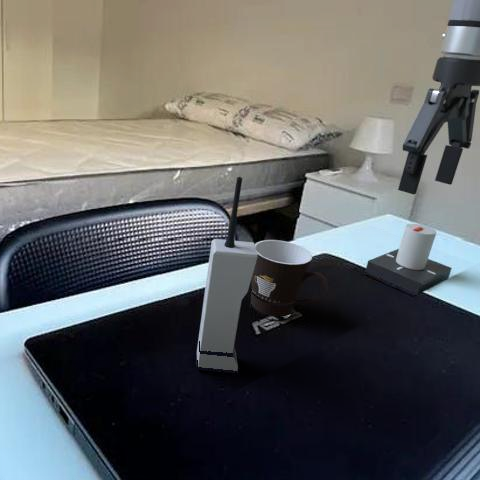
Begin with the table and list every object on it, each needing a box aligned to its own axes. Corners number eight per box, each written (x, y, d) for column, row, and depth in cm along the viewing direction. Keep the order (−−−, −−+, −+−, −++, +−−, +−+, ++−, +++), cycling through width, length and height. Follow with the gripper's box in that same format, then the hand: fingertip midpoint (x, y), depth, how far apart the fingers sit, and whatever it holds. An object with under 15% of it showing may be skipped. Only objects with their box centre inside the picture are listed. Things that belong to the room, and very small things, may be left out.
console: (447, 282, 93) (452, 267, 92) (416, 298, 86) (421, 282, 85) (396, 261, 100) (400, 247, 99) (364, 274, 93) (368, 259, 92)
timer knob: (403, 256, 95) (414, 220, 92) (429, 266, 92) (442, 229, 89) (390, 261, 92) (401, 224, 89) (416, 272, 89) (429, 234, 86)
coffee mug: (233, 299, 80) (242, 242, 76) (277, 292, 84) (288, 237, 80) (275, 339, 71) (288, 277, 67) (323, 330, 74) (338, 270, 70)
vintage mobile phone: (236, 375, 62) (270, 184, 53) (197, 371, 62) (223, 179, 53) (234, 357, 66) (265, 174, 56) (196, 354, 66) (221, 170, 56)
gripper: (472, 57, 89) (436, 173, 97) (403, 52, 74) (367, 189, 82) (519, 62, 83) (477, 184, 92) (455, 57, 68) (412, 203, 77)
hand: (425, 187), depth 87 cm, fingers open, 13 cm apart
